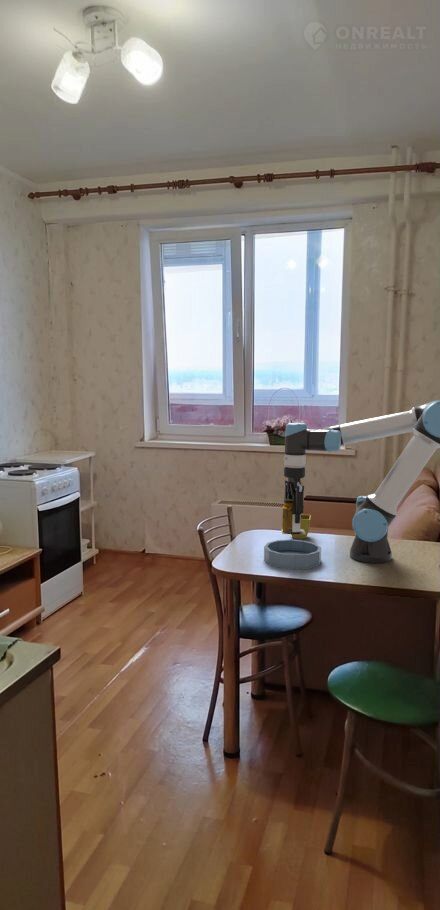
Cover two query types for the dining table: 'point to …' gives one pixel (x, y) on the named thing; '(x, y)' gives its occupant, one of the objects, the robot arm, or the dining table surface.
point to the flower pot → (303, 526)
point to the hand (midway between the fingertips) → (292, 529)
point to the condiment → (288, 518)
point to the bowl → (292, 554)
